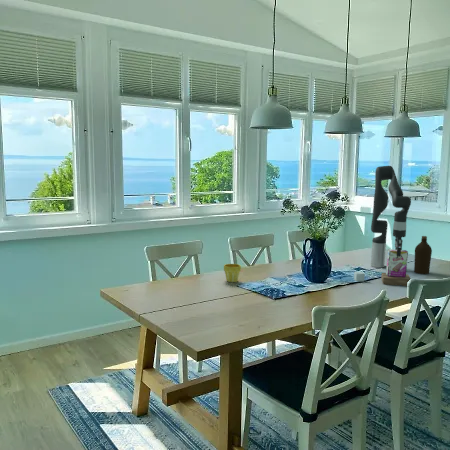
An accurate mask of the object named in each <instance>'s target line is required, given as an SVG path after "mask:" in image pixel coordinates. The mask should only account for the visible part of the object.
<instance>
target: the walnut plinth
mask: <svg viewBox="0 0 450 450" xmlns="http://www.w3.org/2000/svg"><path fill="white" fill-rule="evenodd" d="M380 278H381V282H382V285H386V286H399V285H402V286H401V287H403V286H404V287H408V286H407V282H408V281H409V280H410V279H411V280H412V278H411V276H410V275H409V274H407V273H406V277H391V276H387V275H386V272H381V277H380Z"/></svg>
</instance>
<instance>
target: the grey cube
mask: <svg viewBox="0 0 450 450" xmlns="http://www.w3.org/2000/svg"><path fill="white" fill-rule="evenodd" d="M353 273H354V274H353V281H355V282H365V276H366V273H364V272H363V271H354V272H353Z"/></svg>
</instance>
